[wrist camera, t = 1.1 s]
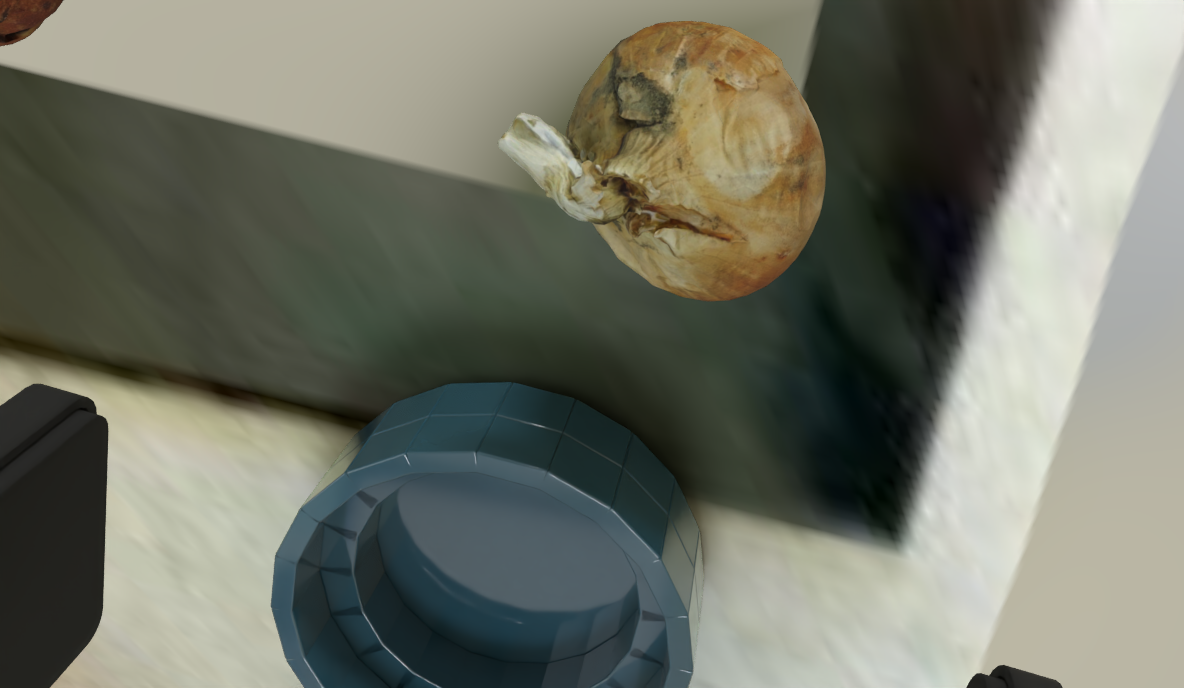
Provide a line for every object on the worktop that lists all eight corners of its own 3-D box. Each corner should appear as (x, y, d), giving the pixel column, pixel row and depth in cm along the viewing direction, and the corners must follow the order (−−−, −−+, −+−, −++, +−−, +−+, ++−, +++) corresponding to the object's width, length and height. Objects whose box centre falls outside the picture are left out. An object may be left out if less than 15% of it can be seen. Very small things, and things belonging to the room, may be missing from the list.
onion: (637, 291, 36) (599, 401, 29) (534, 68, 33) (465, 129, 26) (856, 210, 34) (874, 308, 26) (763, -36, 31) (755, -1, 24)
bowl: (748, 434, 38) (742, 522, 33) (655, 732, 44) (638, 843, 39) (352, 330, 38) (287, 401, 34) (317, 636, 45) (259, 733, 40)
